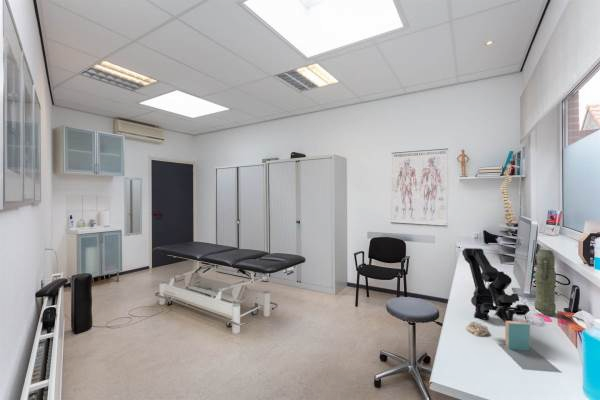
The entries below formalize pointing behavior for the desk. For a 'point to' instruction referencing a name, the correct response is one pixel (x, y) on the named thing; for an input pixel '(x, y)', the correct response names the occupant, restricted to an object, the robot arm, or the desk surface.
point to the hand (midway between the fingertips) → (511, 327)
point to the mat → (529, 359)
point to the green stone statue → (545, 283)
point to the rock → (477, 329)
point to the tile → (517, 335)
